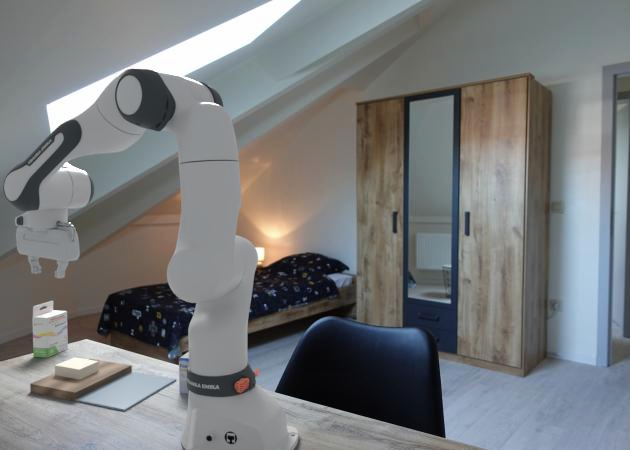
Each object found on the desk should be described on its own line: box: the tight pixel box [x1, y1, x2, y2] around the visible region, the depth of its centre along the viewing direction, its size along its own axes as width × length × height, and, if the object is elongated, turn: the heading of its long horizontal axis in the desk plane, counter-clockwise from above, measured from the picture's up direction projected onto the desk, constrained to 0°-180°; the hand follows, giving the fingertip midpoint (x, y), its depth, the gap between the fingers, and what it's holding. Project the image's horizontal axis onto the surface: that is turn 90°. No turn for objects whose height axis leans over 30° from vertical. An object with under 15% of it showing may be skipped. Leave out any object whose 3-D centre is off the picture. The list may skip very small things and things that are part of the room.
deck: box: [29, 358, 133, 402], centre depth 119 cm, size 14×18×2 cm
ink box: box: [31, 300, 69, 359], centre depth 140 cm, size 9×5×15 cm, turn 168°
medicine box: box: [178, 351, 189, 395], centre depth 115 cm, size 8×4×9 cm, turn 168°
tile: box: [54, 356, 99, 380], centre depth 119 cm, size 8×6×2 cm
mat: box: [74, 370, 177, 412], centre depth 114 cm, size 14×18×1 cm
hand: (47, 275), depth 118 cm, fingers open, 8 cm apart
